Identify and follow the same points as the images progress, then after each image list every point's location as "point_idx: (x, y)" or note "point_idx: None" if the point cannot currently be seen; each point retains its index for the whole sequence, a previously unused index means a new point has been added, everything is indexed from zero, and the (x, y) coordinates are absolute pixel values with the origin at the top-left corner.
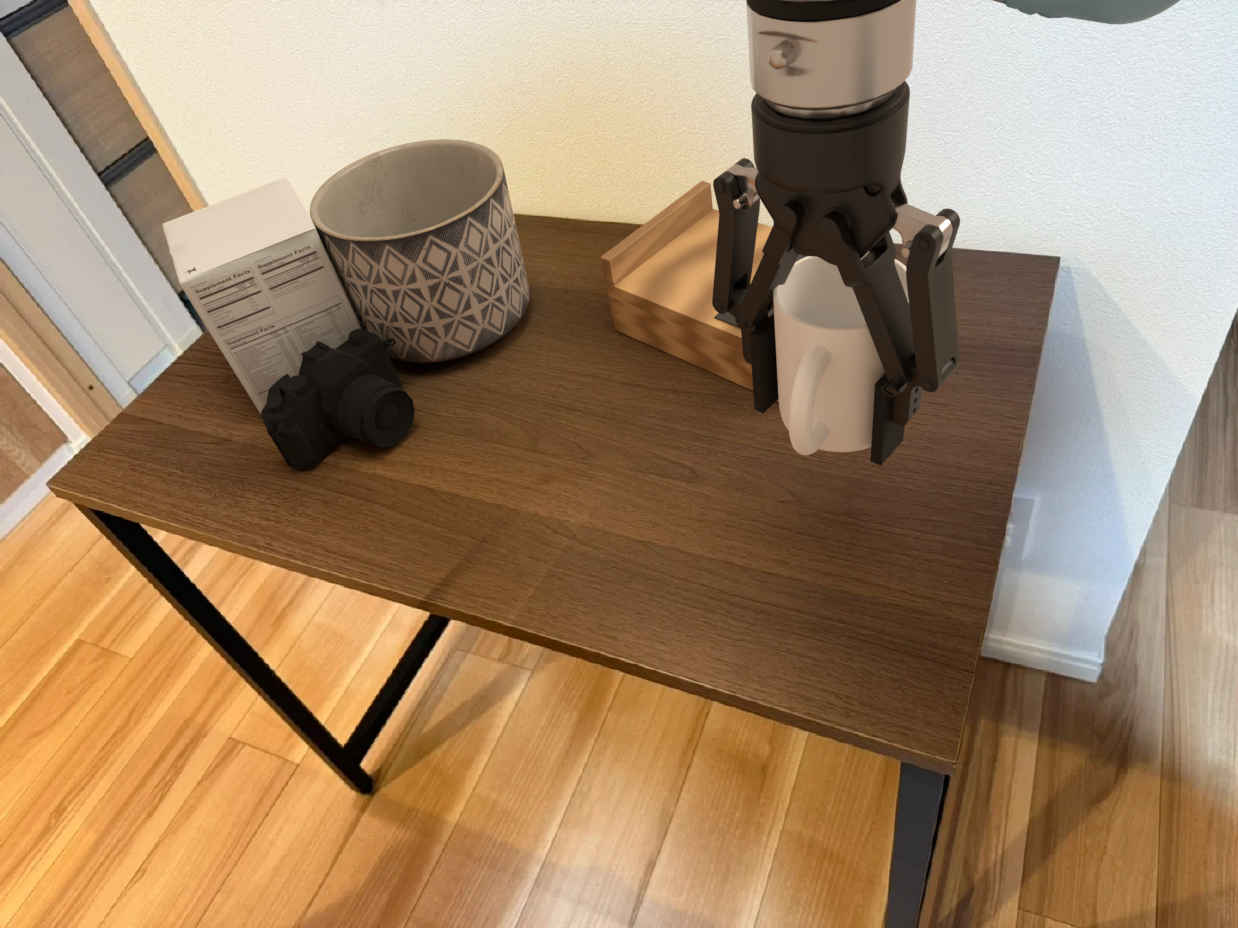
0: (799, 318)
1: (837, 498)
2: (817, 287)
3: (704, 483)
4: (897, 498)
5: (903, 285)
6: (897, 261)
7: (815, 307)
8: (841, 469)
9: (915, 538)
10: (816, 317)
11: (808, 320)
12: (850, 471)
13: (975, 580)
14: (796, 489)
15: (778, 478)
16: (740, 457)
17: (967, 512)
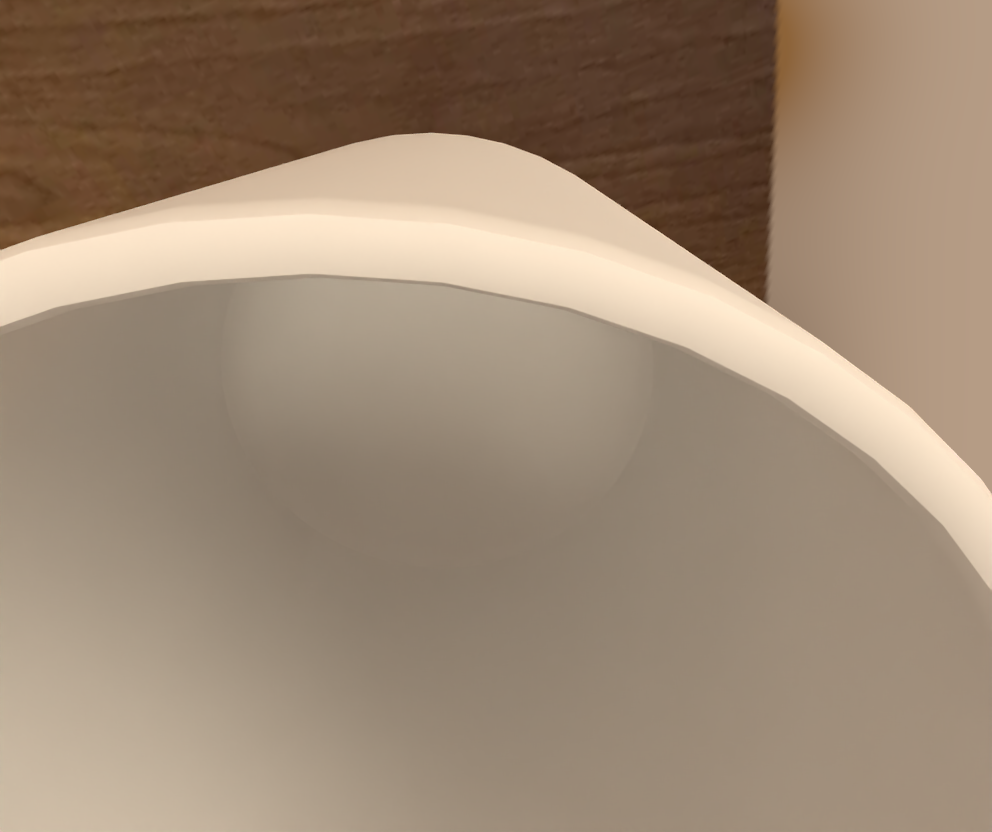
0: (61, 424)
1: (404, 124)
2: (13, 370)
3: (80, 209)
4: (539, 64)
5: (847, 454)
6: (833, 388)
7: (96, 325)
8: (373, 15)
9: (611, 175)
10: (138, 298)
11: (109, 344)
12: (398, 13)
13: (751, 238)
14: (299, 135)
15: (239, 116)
16: (105, 80)
17: (706, 44)
